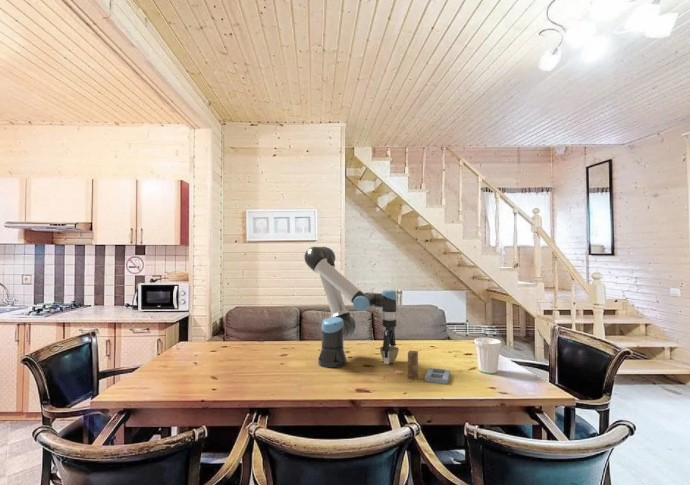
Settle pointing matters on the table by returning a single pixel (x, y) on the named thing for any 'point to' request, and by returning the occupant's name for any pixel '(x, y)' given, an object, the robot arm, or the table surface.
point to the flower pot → (390, 353)
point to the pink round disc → (398, 372)
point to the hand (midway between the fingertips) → (389, 360)
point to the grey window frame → (437, 375)
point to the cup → (488, 354)
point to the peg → (413, 364)
